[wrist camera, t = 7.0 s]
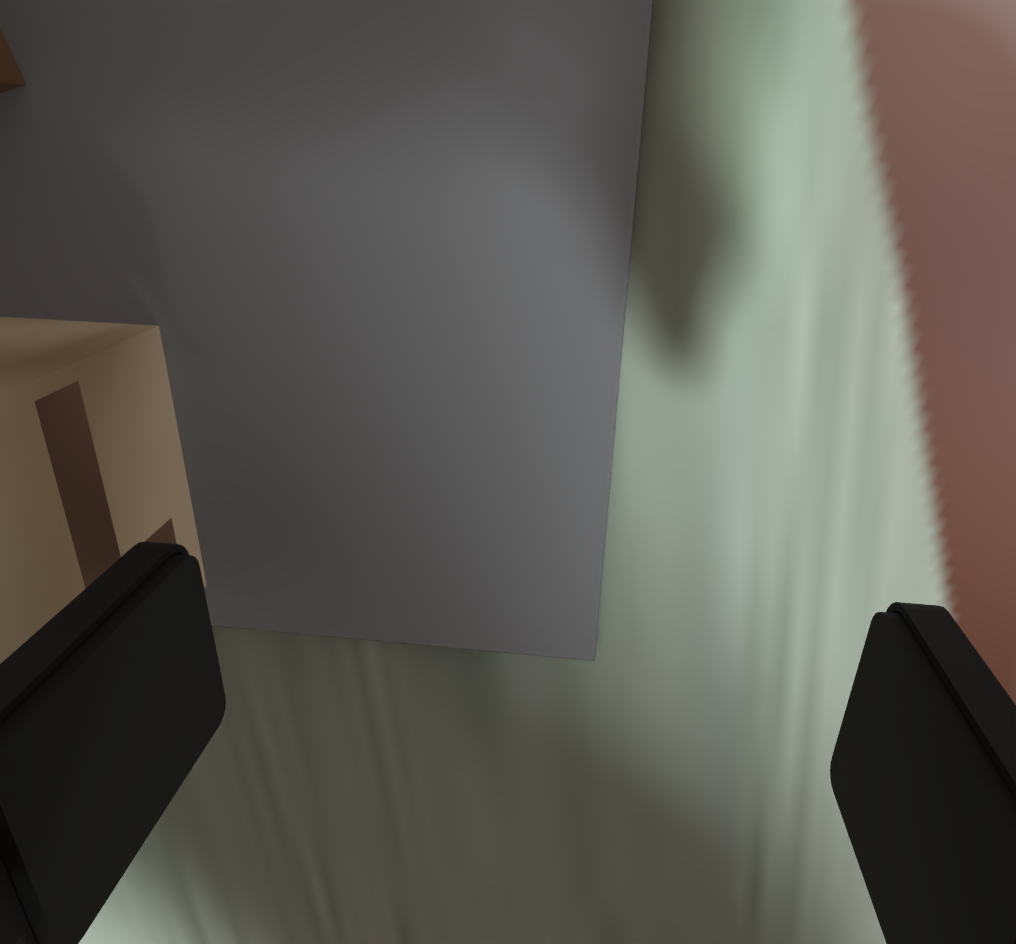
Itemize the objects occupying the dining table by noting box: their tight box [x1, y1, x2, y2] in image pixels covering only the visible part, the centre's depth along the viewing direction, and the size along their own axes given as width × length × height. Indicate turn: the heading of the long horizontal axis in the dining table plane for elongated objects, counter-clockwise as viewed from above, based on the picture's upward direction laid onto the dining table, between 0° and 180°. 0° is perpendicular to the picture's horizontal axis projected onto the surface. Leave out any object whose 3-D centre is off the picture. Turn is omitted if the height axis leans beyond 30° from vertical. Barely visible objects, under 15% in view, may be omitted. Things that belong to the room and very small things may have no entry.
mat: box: [0, 0, 653, 661], centre depth 14 cm, size 24×16×1 cm, turn 89°
